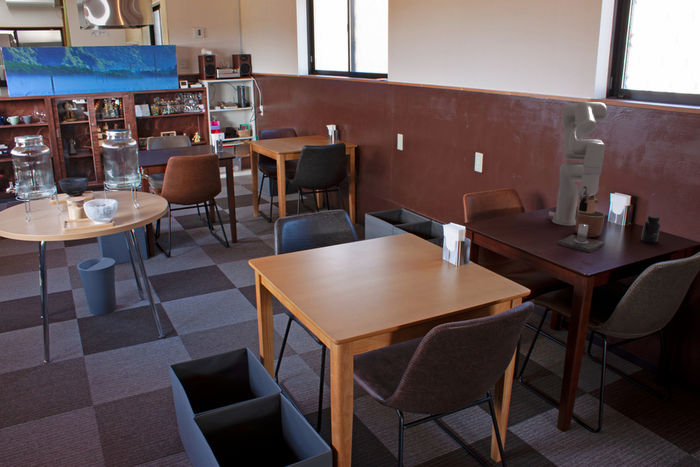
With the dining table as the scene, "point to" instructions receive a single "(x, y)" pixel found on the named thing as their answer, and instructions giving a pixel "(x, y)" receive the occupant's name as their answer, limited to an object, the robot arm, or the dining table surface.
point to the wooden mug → (589, 205)
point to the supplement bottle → (651, 229)
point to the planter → (591, 222)
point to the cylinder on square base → (581, 240)
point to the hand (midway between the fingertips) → (586, 209)
